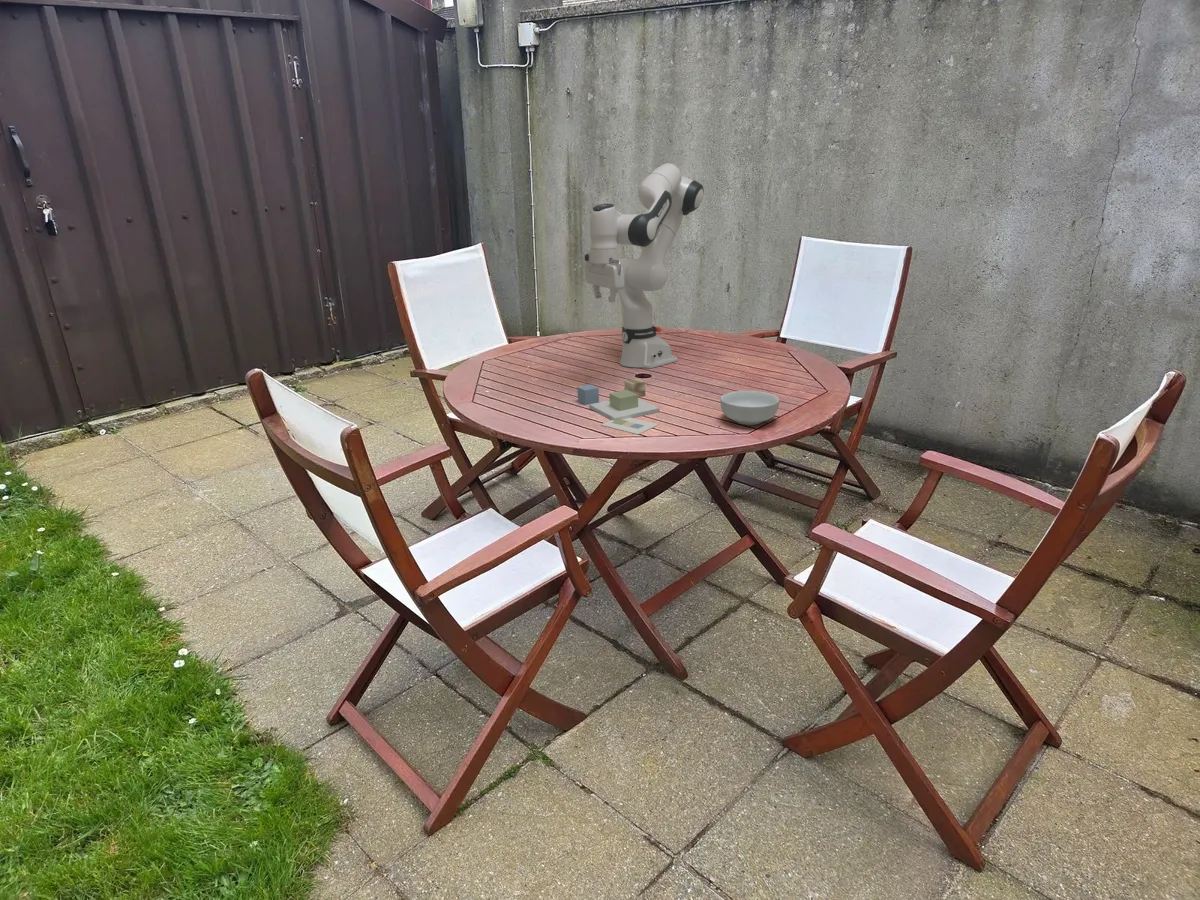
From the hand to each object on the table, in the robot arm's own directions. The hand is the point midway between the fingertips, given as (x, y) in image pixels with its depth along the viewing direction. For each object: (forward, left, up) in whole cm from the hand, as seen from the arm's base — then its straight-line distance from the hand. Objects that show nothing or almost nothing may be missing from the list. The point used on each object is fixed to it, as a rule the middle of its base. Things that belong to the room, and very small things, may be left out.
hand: (604, 300), depth 245 cm
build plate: (+8, +23, -30) cm, 39 cm away
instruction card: (+14, +36, -30) cm, 49 cm away
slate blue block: (+13, +9, -30) cm, 34 cm away
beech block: (-3, +12, -30) cm, 33 cm away
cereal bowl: (-17, +53, -30) cm, 64 cm away
